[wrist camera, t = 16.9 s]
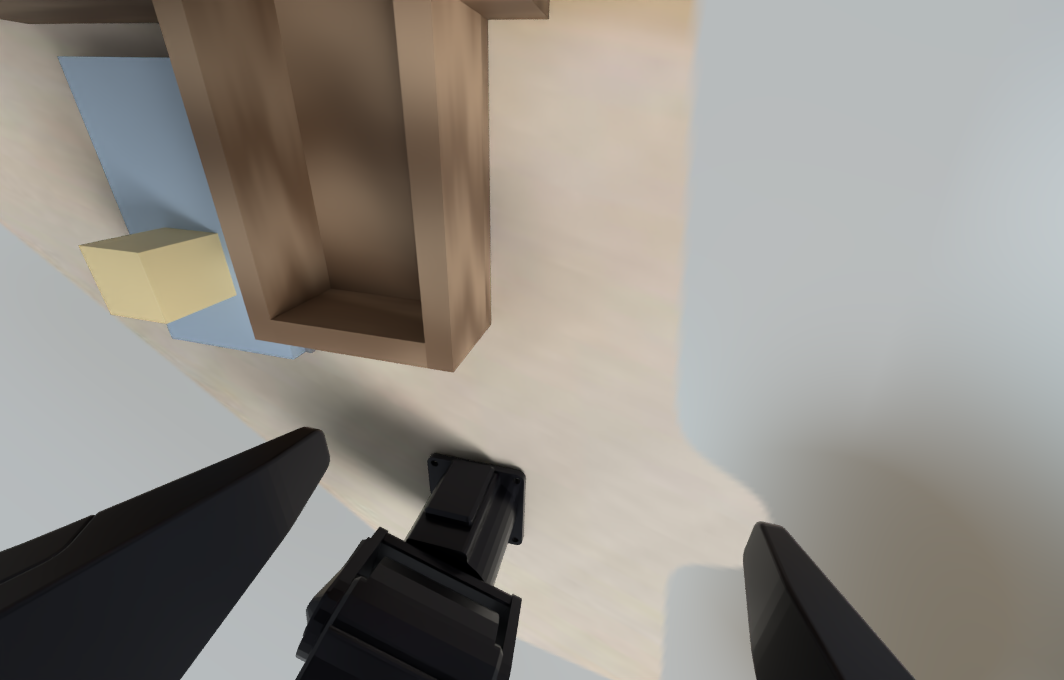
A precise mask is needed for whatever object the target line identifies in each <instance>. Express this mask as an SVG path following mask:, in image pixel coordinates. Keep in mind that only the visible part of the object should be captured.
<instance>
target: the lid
mask: <svg viewBox="0 0 1064 680" xmlns="http://www.w3.org/2000/svg"><path fill="white" fill-rule="evenodd" d="M57 57H58V59H59V62H60V64H61V67H62V69H63V72H64V74H65V77H66V79H67V81H68V84H69V86H70V89H71V91H72V94H73V96H74V99H75V101H76V104H77V106H78V108H79V111H80V113H81V116H82V118H83V121H84V123H85V126H86V128H87V131H88V133H89V135H90V138H91V140H92V143H93V145H94V148H95V150H96V153H97V155H98V158H99V160H100V162H101V165H102V167H103V170H104V172H105V175H106V177H107V180H108V182H109V185H110V187H111V189H112V192H113V194H114V197H115V199H116V202H117V204H118V207H119V209H120V212H121V214H122V216H123V219H124V221H125V224H126V226H127V229H128V231H129V234H130V235H126V236H121V237H116V238H111V239H107V240H102V241H97V242H92V243H88V244H83V245H78V246H79V248H80V250H81V252H82V254H83V256H84V258H85V261H86V263H87V265H88V267H89V269H90V271H91V273H92V275H93V278H94V280H95V282H96V284H97V286H98V288H99V290H100V292H101V295H102V297H103V299H104V301H105V303H106V305H107V307H108V310H109V312H110V314H111V315H116V316H122V317H128V318H134V319H140V320H146V321H152V322H158V323H164V324H167V327H168V329H169V332H170V334H171V337H172V338H173V339H178V340H184V341H190V342H196V343H201V344H207V345H213V346H219V347H224V348H230V349H236V350H242V351H248V352H253V353H259V354H265V355H271V356H276V357H282V358H288V359H295V358H297V357H298V356H300V355H301V354H303V353H304V352H305V348H303V347H297V346H291V345H285V344H279V343H273V342H267V341H261V340H255V337H254V333H253V330H252V327H251V324H250V320H249V317H248V314H247V310H246V307H245V304H244V301H243V297H242V294H241V291H240V287H239V284H238V281H237V278H236V274H235V271H234V268H233V264H232V261H231V258H230V255H229V251H228V248H227V245H226V241H225V238H224V235H223V232H222V228H221V225H220V222H219V219H218V215H217V212H216V209H215V205H214V202H213V199H212V196H211V192H210V189H209V186H208V182H207V179H206V176H205V173H204V169H203V166H202V163H201V159H200V156H199V153H198V150H197V146H196V143H195V140H194V136H193V133H192V130H191V127H190V123H189V120H188V117H187V114H186V110H185V107H184V104H183V100H182V97H181V94H180V91H179V87H178V84H177V81H176V77H175V74H174V71H173V68H172V64H171V61H170V58H153V57H69V56H57Z"/></svg>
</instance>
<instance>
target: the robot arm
mask: <svg viewBox="0 0 1064 680" xmlns="http://www.w3.org/2000/svg"><path fill="white" fill-rule="evenodd" d="M329 462H330V455H329V451H328V447H327V443H326V439H325V435H324V433H323V432H322V430H320V429H315V428H310V427H302V428H299V429H297V430H294V431H292V432H289V433H287V434H285V435H282V436H280V437H277V438H275V439H273V440H270V441H268V442H266V443H263V444H261V445H259V446H256V447H254V448H251V449H249V450H246V451H244V452H242V453H239V454H237V455H234V456H232V457H230V458H227V459H225V460H222V461H220V462H218V463H215V464H213V465H211V466H208V467H206V468H203V469H201V470H199V471H196V472H194V473H191V474H189V475H187V476H184V477H182V478H179V479H177V480H175V481H172V482H170V483H167V484H165V485H163V486H160V487H158V488H155V489H153V490H151V491H148V492H146V493H143V494H141V495H139V496H136V497H134V498H132V499H129V500H127V501H124V502H122V503H119V504H117V505H115V506H112V507H110V508H107V509H105V510H103V511H100V512H98V513H97V514H96V515H90V516H88V517H86V518H83V519H81V520H78V521H76V522H74V523H71V524H69V525H67V526H64V527H62V528H59V529H57V530H54V531H52V532H49V533H47V534H45V535H42V536H40V537H37V538H35V539H32V540H30V541H27V542H25V543H22V544H20V545H17V546H14V547H12V548H9V549H6V550H4V551H1V552H0V680H180V679H181V678H182V677H183V675H184V674H185V672H186V671H187V670H188V668H189V667H190V666H191V664H192V663H193V662H194V660H195V659H196V658H197V656H198V655H199V653H200V652H201V651H202V649H203V648H204V646H205V645H206V644H207V643H208V641H209V640H210V638H211V637H212V636H213V634H214V633H215V632H216V630H217V629H218V628H219V626H220V625H221V624H222V622H223V621H224V619H225V618H226V617H227V615H228V614H229V613H230V611H231V610H232V609H233V607H234V606H235V604H236V603H237V602H238V600H239V599H240V598H241V596H242V595H243V594H244V592H245V591H246V589H247V588H248V587H249V585H250V584H251V583H252V581H253V580H254V579H255V577H256V576H257V575H258V573H259V572H260V570H261V569H262V568H263V566H264V565H265V564H266V562H267V561H268V560H269V558H270V557H271V555H272V554H273V553H274V551H275V550H276V549H277V547H278V546H279V545H280V543H281V542H282V541H283V539H284V537H285V536H286V535H287V533H288V532H289V531H290V529H291V527H292V526H293V524H294V523H295V521H296V520H297V518H298V516H299V515H300V513H301V511H302V510H303V508H304V506H305V505H306V503H307V501H308V499H309V498H310V496H311V495H312V493H313V491H314V490H315V488H316V487H317V485H318V483H319V482H320V480H321V478H322V477H323V475H324V473H325V472H326V470H327V468H328V466H329ZM427 463H428V472H429V481H430V491H431V496H430V497H429V499H428V501H427V502H426V504H425V506H424V508H423V509H422V511H421V513H420V514H419V516H418V518H417V520H416V521H415V523H414V525H413V526H412V528H411V530H410V531H409V533H408V535H407V537H406V538H405V540H404V541H403V540H401V539H399V538H397V537H395V536H393V535H391V534H389V533H388V531H387V530H386V529H384V528H382V527H379V528H378V529H377V531H376V532H375V533H374V535H373V536H372V537H371V538H369V537H368V538H367V539H366V540H362V541H361V542H360V544H359V545H358V547H357V548H356V550H355V551H354V553H353V554H352V555H351V557H350V558H349V560H348V561H347V563H346V564H345V565H344V566H343V567H342V569H341V570H340V571H339V572H338V573H337V574H336V575H335V576H334V577H333V578H332V579H331V580H330V581H329V582H328V583H327V584H326V585H325V586H324V587H323V588H322V589H321V590H320V591H319V592H318V593H317V594H316V595H315V596H314V598H313V599H312V600H311V602H310V603H309V605H308V607H307V609H306V616H307V626H306V628H305V631H304V634H303V638H302V640H301V643H300V645H299V647H298V650H297V653H296V657H297V658H298V659H301V660H302V661H304V662H305V664H304V665H303V667H302V669H301V671H300V672H299V674H298V676H297V678H296V679H295V680H509V677H510V672H511V666H512V660H513V653H514V647H515V640H516V634H517V627H518V621H519V614H520V608H521V601H522V598H520V597H518V596H516V595H514V594H512V595H510V594H508V593H506V592H504V591H502V590H500V589H498V588H496V587H494V583H495V580H496V577H497V574H498V571H499V568H500V565H501V562H502V559H503V556H504V553H505V550H506V547H507V544H508V543H510V544H514V545H520V544H521V543H522V540H523V537H524V512H525V487H526V476H525V474H524V473H523V472H521V471H519V470H514V469H509V468H504V467H500V466H495V465H490V464H485V463H480V462H475V461H471V460H466V459H461V458H456V457H451V456H447V455H442V454H437V453H434V454H432V455H431V456H430V457H429V459H428V461H427ZM516 478H518V479H516ZM743 567H744V578H745V589H746V599H747V610H748V621H749V632H750V642H751V651H752V658H753V663H754V669H755V674H756V679H757V680H915V678H914V677H913V676H912V675H911V674H910V672H909V671H908V670H907V669H906V668H905V667H904V665H903V664H902V663H901V662H900V661H899V660H898V659H897V658H896V656H895V655H894V654H893V653H892V652H891V650H890V649H889V648H888V647H887V646H886V645H885V644H884V642H883V641H882V640H881V639H880V638H879V637H878V636H877V634H876V633H875V632H874V631H873V630H872V629H871V627H870V626H869V625H868V624H867V623H866V622H865V620H864V619H863V618H862V617H861V616H860V615H859V614H858V612H857V611H856V610H855V609H854V608H853V606H852V605H851V604H850V603H849V602H848V601H847V600H846V598H845V597H844V596H843V595H842V594H841V593H840V591H839V590H838V589H837V588H836V587H835V586H834V585H833V583H832V582H831V581H830V580H829V579H828V578H827V577H826V575H825V574H824V573H823V572H822V571H821V570H820V568H819V567H818V566H817V565H816V564H815V563H814V561H812V559H811V558H810V557H809V556H808V555H807V553H806V552H805V551H804V550H803V549H802V548H801V546H800V545H799V544H798V543H797V542H796V541H795V539H794V538H793V537H792V536H791V535H790V534H789V532H788V531H787V530H786V529H785V528H783V527H782V526H780V525H776V524H771V523H766V522H762V521H761V522H757V523H756V524H755V526H754V528H753V530H752V532H751V535H750V537H749V540H748V542H747V545H746V547H745V550H744V554H743Z"/></svg>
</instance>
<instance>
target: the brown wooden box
mask: <svg viewBox="0 0 1064 680" xmlns="http://www.w3.org/2000/svg"><path fill="white" fill-rule="evenodd" d="M549 2H550V0H0V19H3V20H9V21H15V22H21V23H27V24H64V23H159V25H160V28H161V31H162V35H163V38H164V41H165V45H166V48H167V51H168V54H169V58H170V61H171V64H172V68H173V71H174V74H175V77H176V81H177V84H178V87H179V91H180V94H181V97H182V100H183V104H184V107H185V110H186V114H187V117H188V120H189V123H190V127H191V130H192V133H193V136H194V140H195V143H196V146H197V150H198V153H199V156H200V159H201V163H202V166H203V169H204V173H205V176H206V179H207V182H208V186H209V189H210V192H211V196H212V199H213V202H214V205H215V209H216V212H217V215H218V219H219V222H220V225H221V228H222V232H223V235H224V238H225V241H226V245H227V248H228V251H229V255H230V258H231V261H232V264H233V268H234V271H235V274H236V278H237V281H238V284H239V287H240V291H241V294H242V297H243V301H244V304H245V307H246V310H247V314H248V317H249V320H250V324H251V327H252V330H253V333H254V337H255V340H261V341H267V342H273V343H279V344H285V345H291V346H297V347H303V348H309V349H315V350H321V351H327V352H333V353H339V354H346V355H352V356H358V357H364V358H370V359H376V360H382V361H388V362H394V363H400V364H406V365H412V366H418V367H424V368H430V369H436V370H442V371H448V372H454V371H455V370H456V368H457V367H458V366H459V365H460V363H461V362H462V361H463V360H464V358H465V357H466V356H467V354H468V353H469V352H470V351H471V349H472V348H473V347H474V345H475V344H476V343H477V342H478V340H479V339H480V338H481V337H482V335H483V334H484V333H485V331H486V330H487V329H488V328H489V326H490V325H491V266H490V175H489V83H488V20H492V19H549Z"/></svg>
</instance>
